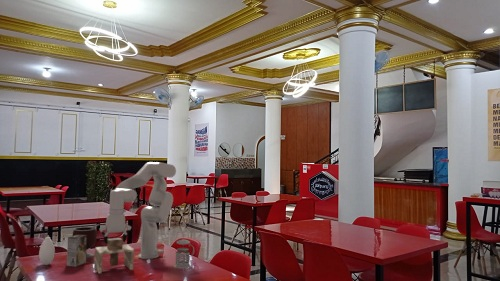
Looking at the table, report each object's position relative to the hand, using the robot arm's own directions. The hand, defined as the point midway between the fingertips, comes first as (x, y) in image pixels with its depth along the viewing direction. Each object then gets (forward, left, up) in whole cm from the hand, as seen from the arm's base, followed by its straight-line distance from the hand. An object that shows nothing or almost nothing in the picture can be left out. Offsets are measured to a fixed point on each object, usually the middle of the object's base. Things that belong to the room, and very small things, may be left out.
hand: (115, 242), depth 214 cm
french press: (-37, +12, -14) cm, 41 cm away
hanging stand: (0, 0, -14) cm, 14 cm away
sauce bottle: (+32, -24, -14) cm, 43 cm away
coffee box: (+17, -18, -14) cm, 29 cm away
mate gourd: (+10, -36, -14) cm, 40 cm away
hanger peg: (0, 0, -12) cm, 12 cm away
